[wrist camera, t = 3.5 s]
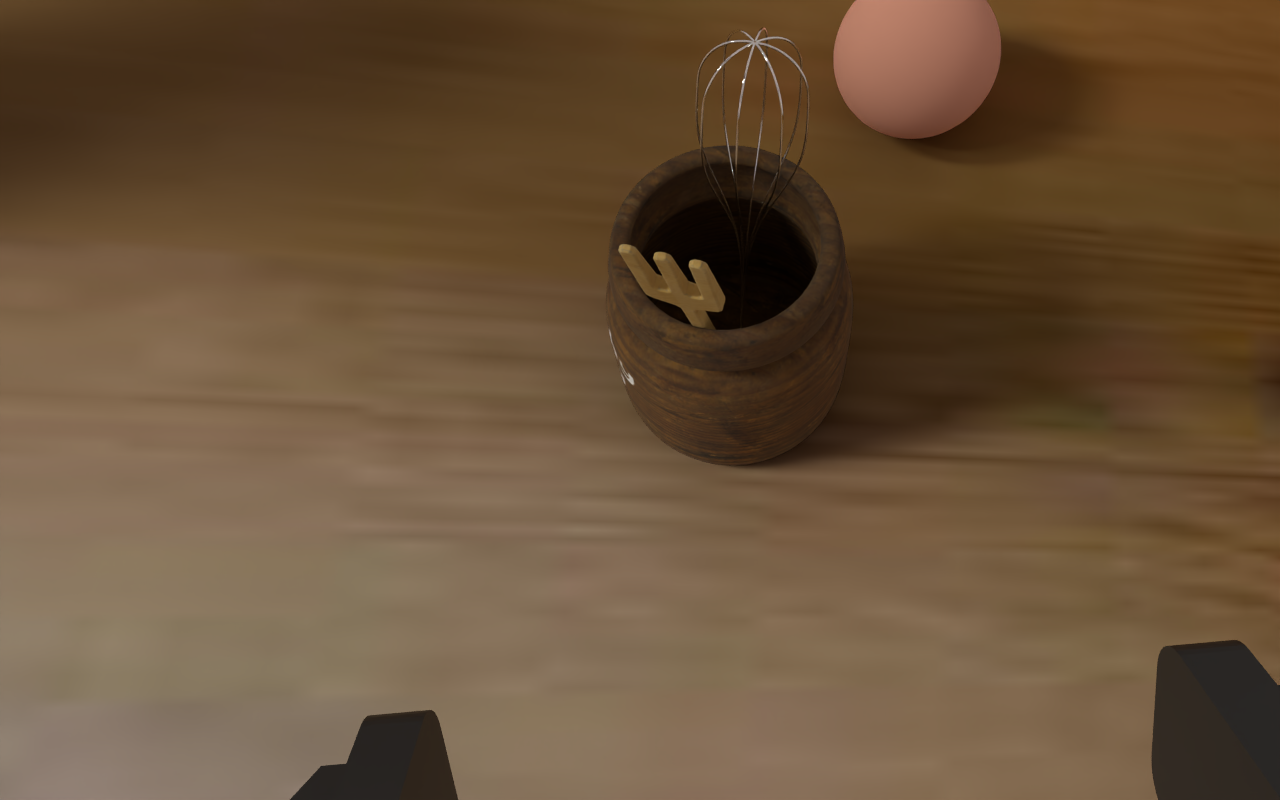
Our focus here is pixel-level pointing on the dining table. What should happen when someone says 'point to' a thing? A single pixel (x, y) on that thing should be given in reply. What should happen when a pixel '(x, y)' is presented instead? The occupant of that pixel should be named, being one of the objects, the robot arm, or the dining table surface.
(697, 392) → the utensil holder
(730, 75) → the dining table surface
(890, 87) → the ball
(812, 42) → the dining table surface
